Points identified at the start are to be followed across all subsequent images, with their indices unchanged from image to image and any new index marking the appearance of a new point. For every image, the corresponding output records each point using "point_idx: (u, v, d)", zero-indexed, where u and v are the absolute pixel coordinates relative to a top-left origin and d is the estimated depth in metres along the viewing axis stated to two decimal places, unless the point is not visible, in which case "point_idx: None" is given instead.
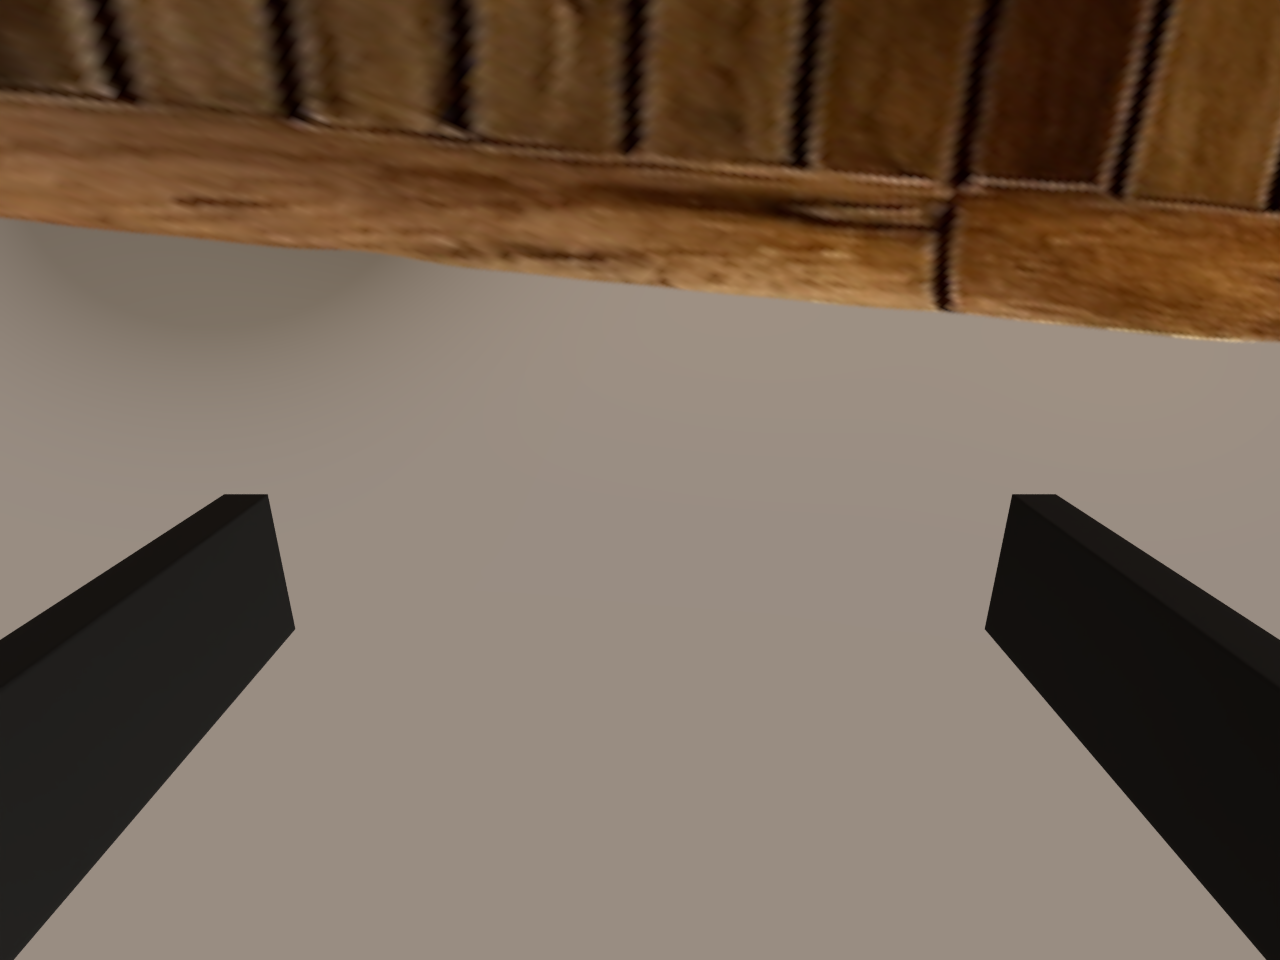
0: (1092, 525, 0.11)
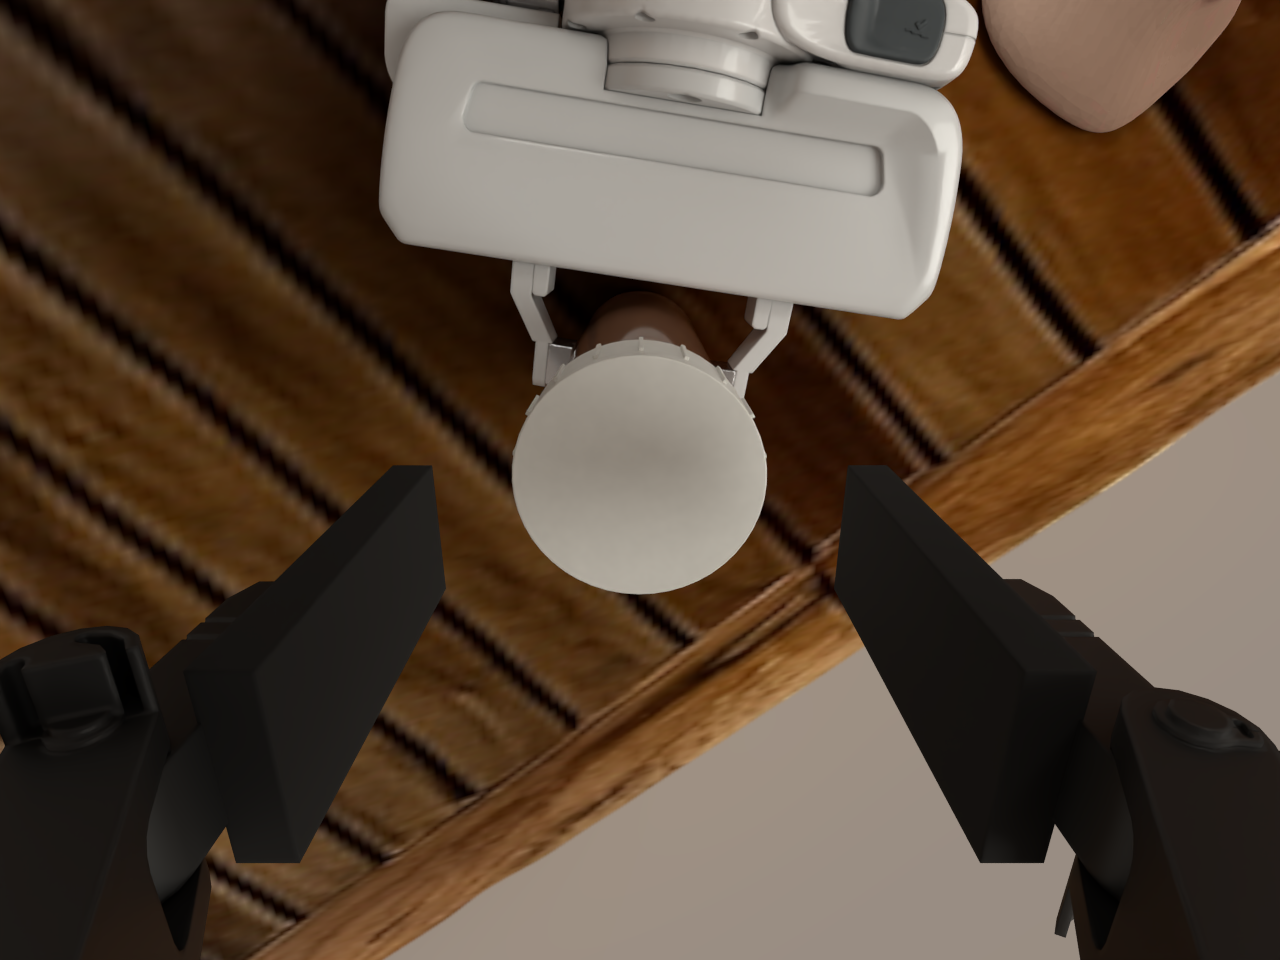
0: (902, 490, 0.12)
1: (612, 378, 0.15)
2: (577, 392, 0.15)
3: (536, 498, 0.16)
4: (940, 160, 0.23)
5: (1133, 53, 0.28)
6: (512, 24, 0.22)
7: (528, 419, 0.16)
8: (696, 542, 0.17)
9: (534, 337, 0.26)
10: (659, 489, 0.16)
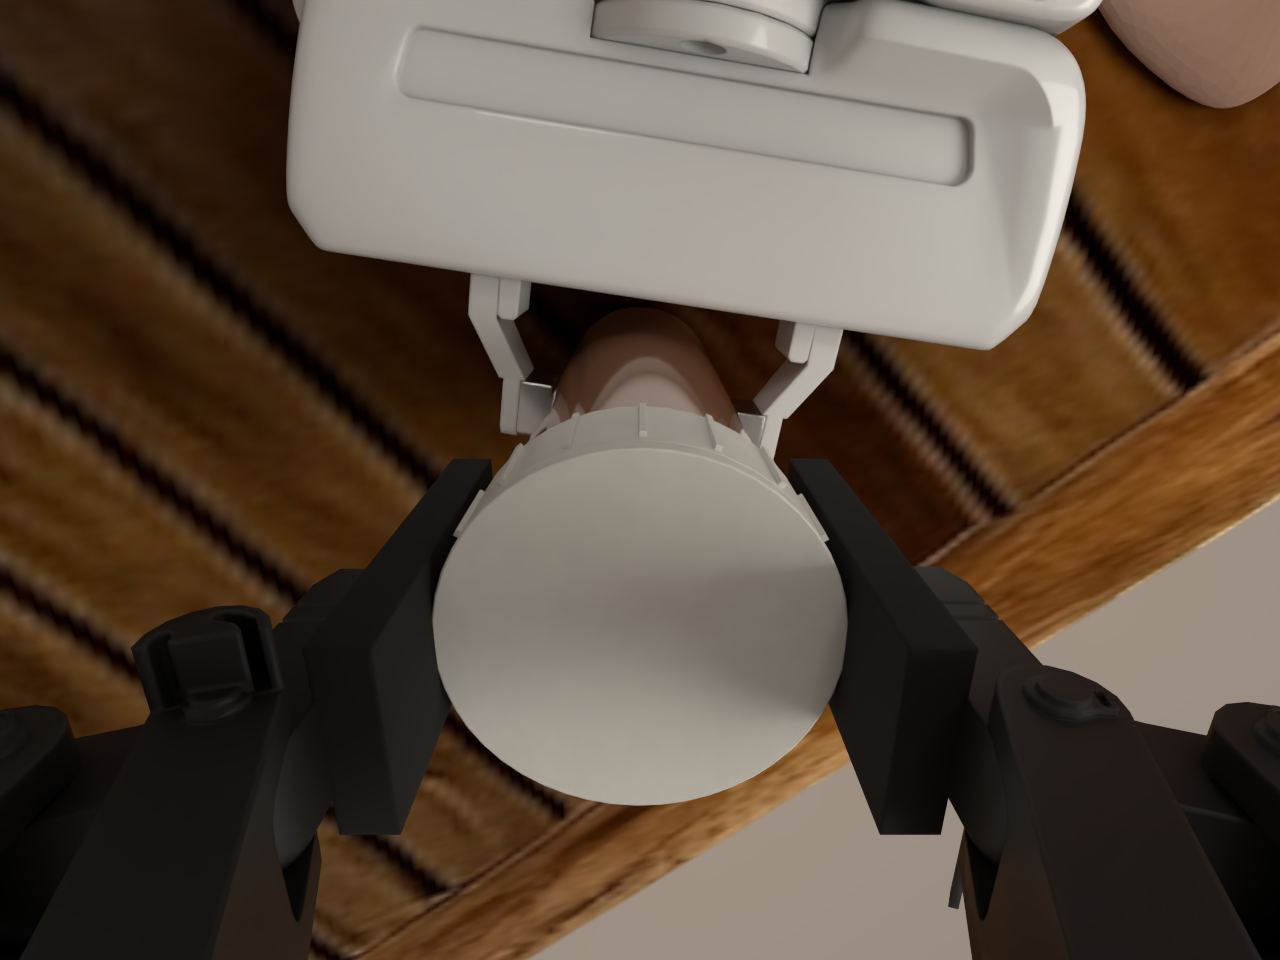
0: (836, 481, 0.12)
1: (594, 485, 0.09)
2: (535, 507, 0.09)
3: (472, 669, 0.10)
4: (1055, 136, 0.16)
5: (1279, 3, 0.21)
6: None
7: (454, 550, 0.09)
8: (731, 733, 0.10)
9: (501, 373, 0.20)
10: (672, 656, 0.10)
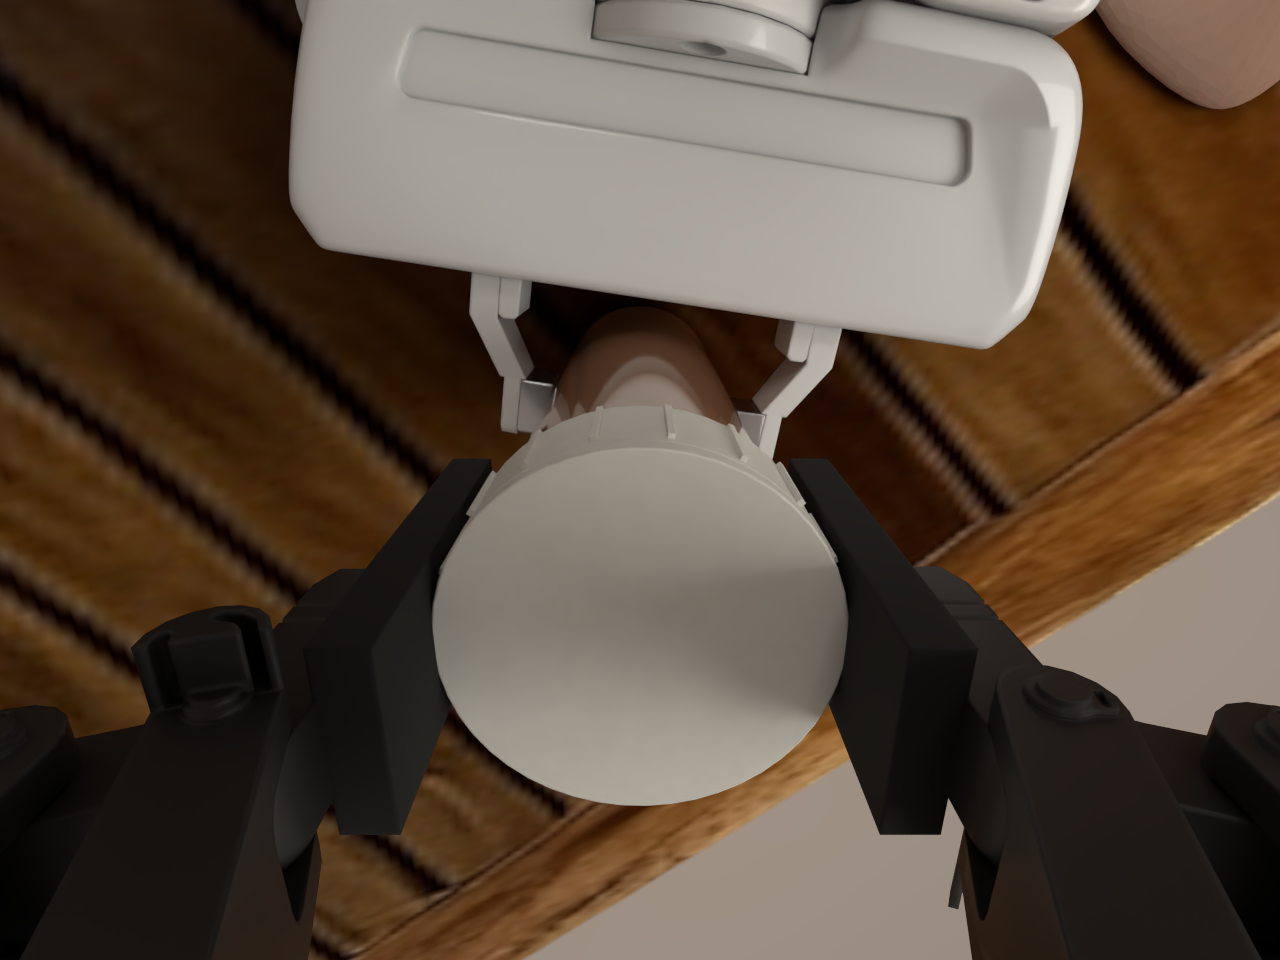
0: (836, 481, 0.12)
1: (473, 687, 0.10)
2: (501, 729, 0.10)
3: (672, 778, 0.11)
4: (1052, 136, 0.17)
5: (1275, 4, 0.21)
6: None
7: (549, 787, 0.11)
8: (748, 555, 0.09)
9: (502, 371, 0.20)
10: (650, 617, 0.10)
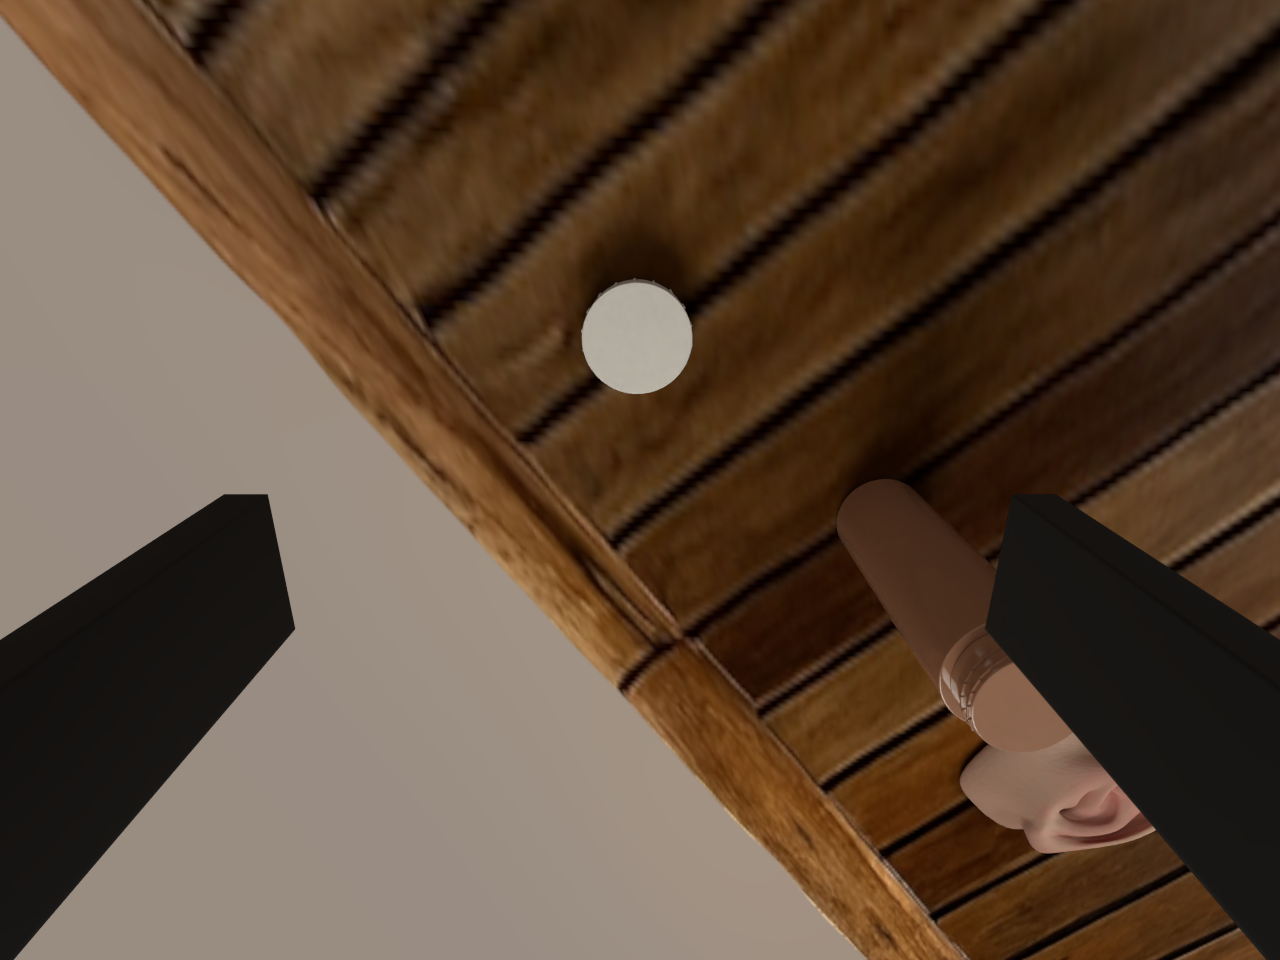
0: (1092, 525, 0.11)
1: (595, 360, 0.38)
2: (604, 373, 0.38)
3: (654, 381, 0.38)
4: None
5: (1007, 791, 0.49)
6: None
7: (620, 390, 0.38)
8: (659, 307, 0.37)
9: None
10: (638, 330, 0.37)
